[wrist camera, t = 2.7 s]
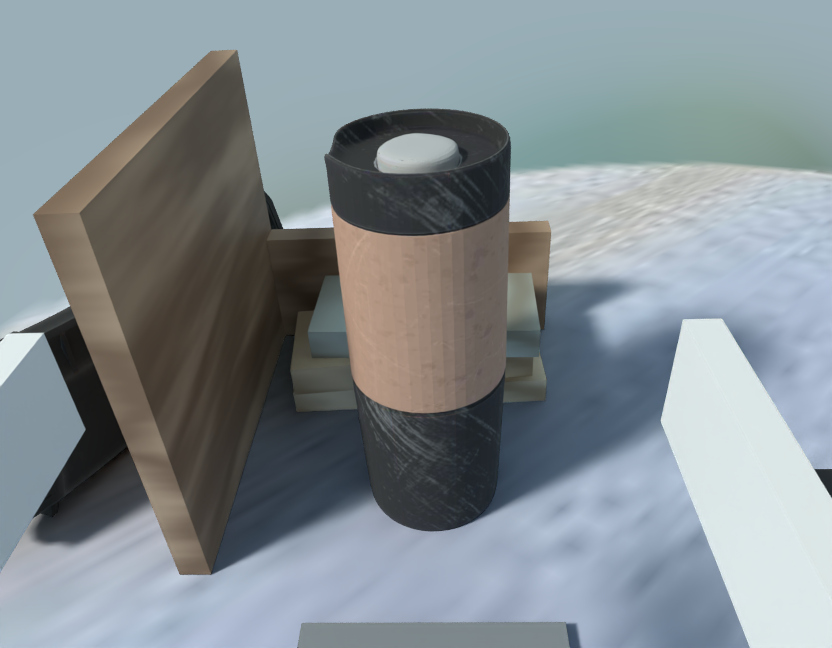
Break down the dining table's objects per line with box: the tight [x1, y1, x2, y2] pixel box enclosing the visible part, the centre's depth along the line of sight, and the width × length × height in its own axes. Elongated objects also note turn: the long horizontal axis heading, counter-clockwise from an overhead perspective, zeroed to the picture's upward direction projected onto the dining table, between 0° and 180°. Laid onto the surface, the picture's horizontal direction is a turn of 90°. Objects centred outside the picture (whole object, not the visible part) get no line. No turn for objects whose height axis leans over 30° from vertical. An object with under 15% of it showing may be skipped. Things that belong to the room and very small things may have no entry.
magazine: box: [0, 191, 283, 519], centre depth 45 cm, size 17×3×30 cm
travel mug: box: [324, 109, 511, 531], centre depth 33 cm, size 8×8×20 cm
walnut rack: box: [33, 50, 551, 575], centre depth 37 cm, size 21×22×20 cm
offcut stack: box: [290, 273, 547, 412], centre depth 45 cm, size 16×8×6 cm, turn 91°
